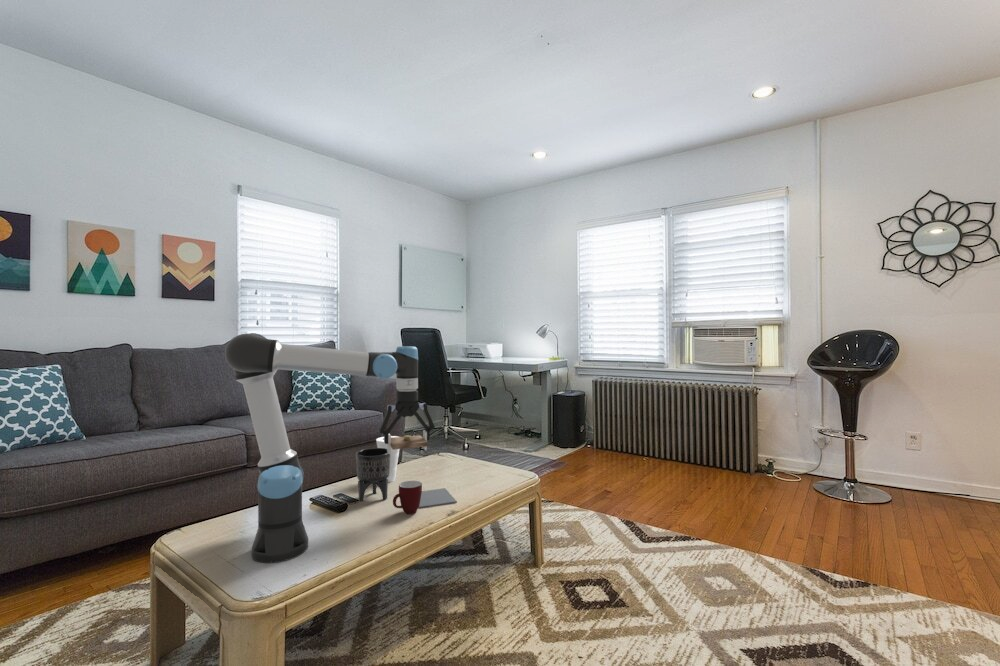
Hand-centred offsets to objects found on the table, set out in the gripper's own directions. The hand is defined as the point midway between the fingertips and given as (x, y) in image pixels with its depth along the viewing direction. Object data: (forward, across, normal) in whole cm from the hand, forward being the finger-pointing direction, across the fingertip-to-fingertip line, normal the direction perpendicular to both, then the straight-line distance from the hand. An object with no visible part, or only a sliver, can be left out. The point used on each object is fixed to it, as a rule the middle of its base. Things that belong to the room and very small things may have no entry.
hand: (407, 451), depth 163 cm
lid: (-3, 0, 0) cm, 3 cm away
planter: (+22, -9, +21) cm, 32 cm away
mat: (+22, +12, +11) cm, 27 cm away
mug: (+22, 0, 0) cm, 22 cm away
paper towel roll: (+22, 0, +40) cm, 46 cm away
